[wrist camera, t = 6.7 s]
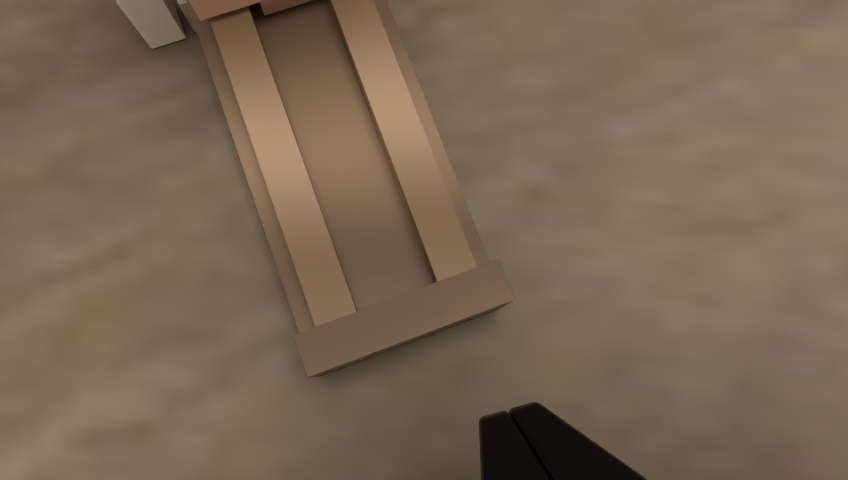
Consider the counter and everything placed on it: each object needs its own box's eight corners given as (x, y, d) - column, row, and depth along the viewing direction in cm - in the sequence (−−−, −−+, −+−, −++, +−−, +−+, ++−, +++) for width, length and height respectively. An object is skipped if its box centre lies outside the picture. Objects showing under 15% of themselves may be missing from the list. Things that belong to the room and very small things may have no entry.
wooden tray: (504, 306, 19) (524, 296, 16) (312, 378, 18) (298, 381, 15) (311, -184, 21) (300, -267, 18) (138, -134, 21) (98, -212, 18)
